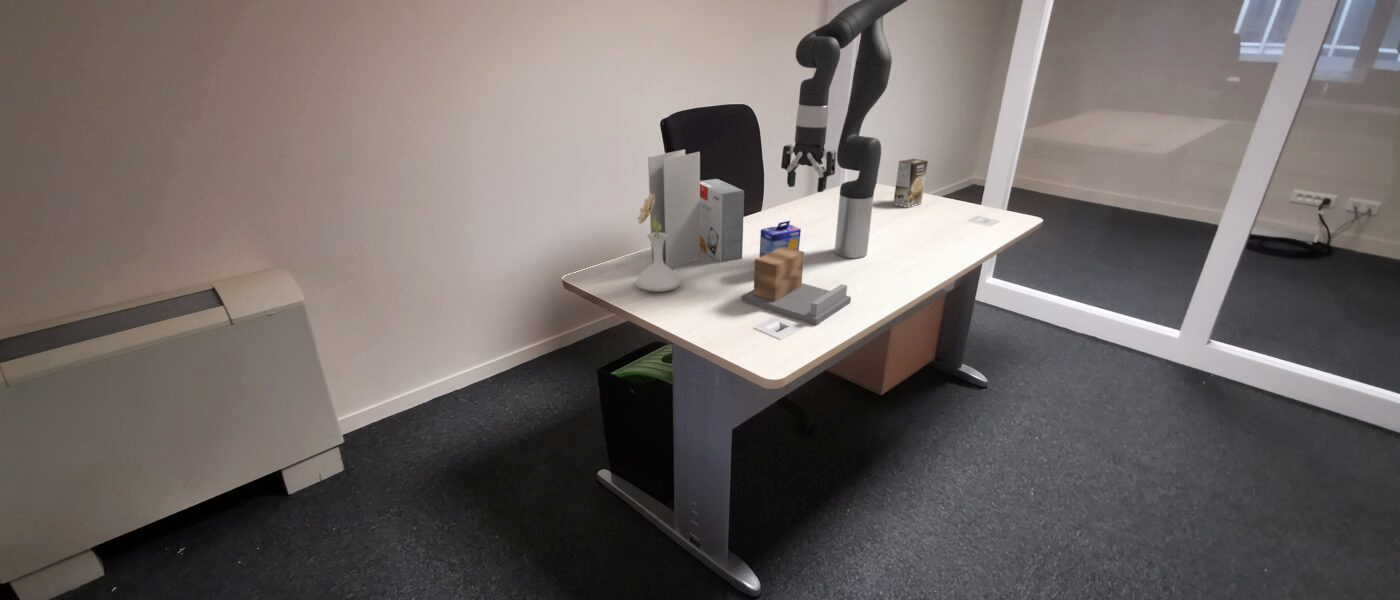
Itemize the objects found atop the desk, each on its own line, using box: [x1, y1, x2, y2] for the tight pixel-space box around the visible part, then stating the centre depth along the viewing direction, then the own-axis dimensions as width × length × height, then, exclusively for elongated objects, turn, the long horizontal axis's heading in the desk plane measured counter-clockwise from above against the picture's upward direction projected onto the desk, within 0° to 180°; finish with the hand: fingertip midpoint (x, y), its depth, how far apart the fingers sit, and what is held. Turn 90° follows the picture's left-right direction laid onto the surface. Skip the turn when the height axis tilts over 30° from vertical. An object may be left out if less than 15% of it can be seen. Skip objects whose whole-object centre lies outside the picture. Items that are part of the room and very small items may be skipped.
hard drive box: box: [700, 178, 745, 263], centre depth 178 cm, size 16×8×20 cm, turn 27°
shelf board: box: [741, 282, 852, 326], centre depth 149 cm, size 16×20×4 cm
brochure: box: [647, 149, 701, 270], centre depth 168 cm, size 14×6×30 cm, turn 141°
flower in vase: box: [635, 193, 682, 293], centre depth 152 cm, size 13×11×25 cm
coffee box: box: [892, 158, 929, 208], centre depth 227 cm, size 9×6×16 cm
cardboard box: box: [753, 247, 805, 301], centre depth 150 cm, size 12×6×9 cm, turn 140°
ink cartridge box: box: [758, 220, 802, 258], centre depth 165 cm, size 10×6×14 cm, turn 122°
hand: (805, 189), depth 160 cm, fingers open, 8 cm apart
